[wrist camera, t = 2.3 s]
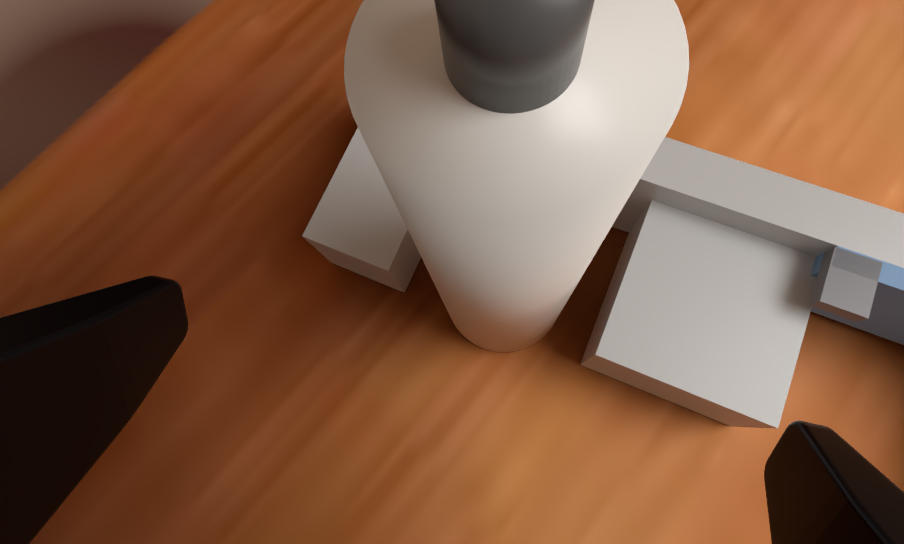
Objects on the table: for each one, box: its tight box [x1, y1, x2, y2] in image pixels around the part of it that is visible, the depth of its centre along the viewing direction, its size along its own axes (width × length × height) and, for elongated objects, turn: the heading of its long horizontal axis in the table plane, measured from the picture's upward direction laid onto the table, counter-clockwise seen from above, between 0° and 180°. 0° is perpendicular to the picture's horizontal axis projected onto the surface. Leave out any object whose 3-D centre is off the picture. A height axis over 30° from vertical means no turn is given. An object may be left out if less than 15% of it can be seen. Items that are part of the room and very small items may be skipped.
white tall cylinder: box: [344, 0, 689, 352], centre depth 12 cm, size 4×4×14 cm
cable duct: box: [302, 128, 904, 428], centre depth 16 cm, size 24×6×4 cm, turn 67°
